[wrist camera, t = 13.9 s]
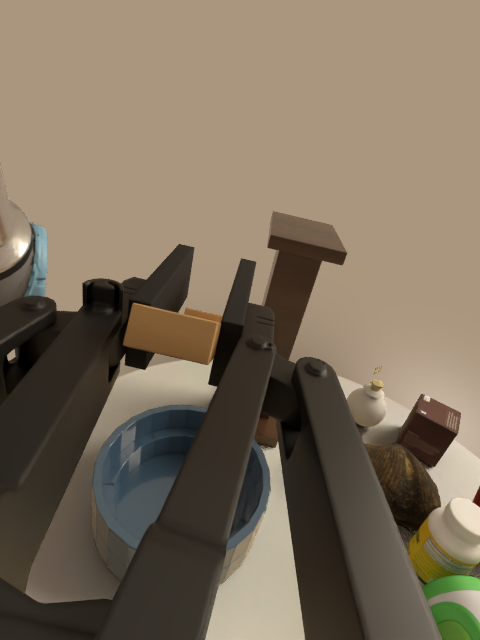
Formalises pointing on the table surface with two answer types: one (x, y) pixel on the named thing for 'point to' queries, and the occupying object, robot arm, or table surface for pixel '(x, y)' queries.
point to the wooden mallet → (174, 333)
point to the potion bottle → (368, 403)
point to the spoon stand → (293, 285)
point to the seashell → (404, 484)
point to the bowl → (162, 485)
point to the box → (429, 430)
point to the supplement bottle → (447, 542)
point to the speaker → (455, 606)
